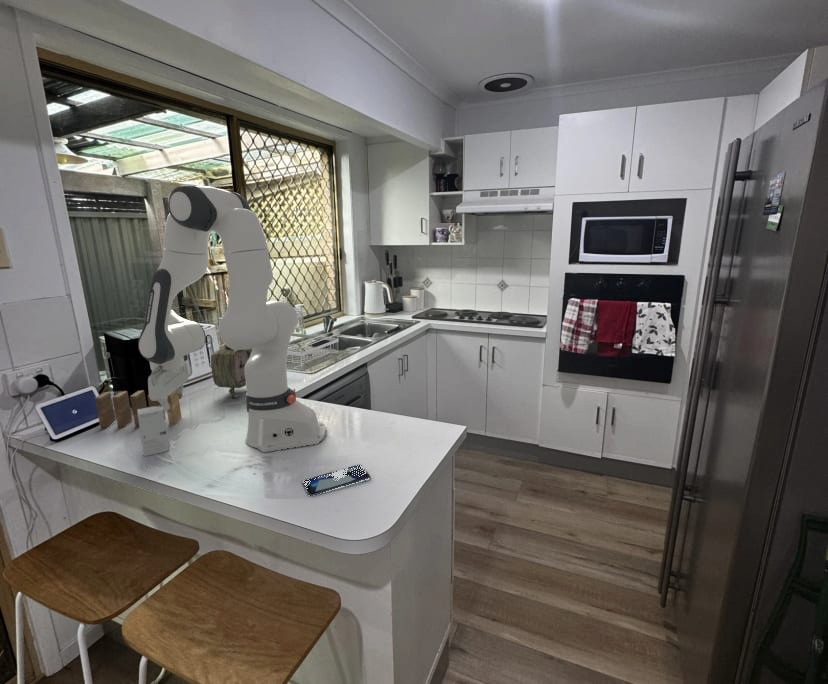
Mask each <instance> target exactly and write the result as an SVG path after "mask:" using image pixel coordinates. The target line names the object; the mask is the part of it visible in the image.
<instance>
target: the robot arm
mask: <svg viewBox="0 0 828 684" xmlns="http://www.w3.org/2000/svg"><path fill="white" fill-rule="evenodd" d="M167 207H168V211H169V214H168V215H167V217H166V222H165V228H164V233H163V248H162V249H163V252H162V258H161V262H160V264H159V267H158V268H157V270H156V271H155V272H154V273H153V275H152V277H151V279H150V280H151V281H150V284H149V289H148V294H147V301H146V307H145V314H144V320H143V326H142V329H141V332H140V334H139V338H138V341H137V342H138V343H137V345H138V346H137V347H138V352H139V353H140V354H141V356H142V357H143V358H144V359H146V360H147V361H148V362H149V367H150V370H151V374H150V375H149V376H148V378H147V386H148V387H147V389H148V395H149V398H150V399H151V400H152V401H159V403H160V404H161V405H162V406H163V411H164V412H167V410H169V409H170V403H168V401H167V399H168V396H169V395H170V394H171V393H172V392H174V391H175V390H176V389H177V390H178V397H179V400H181V399H183V397H184V396H183V391H184V384H185V383H186V382H187V381H189V376H190V372H189V371H190V369H189V363H188V360H189V354H192V353H195V352H197V351H200V350H202V349H203V348H204V346H205V345H206V340H207V335H206V331H205V329H204V328H203V326H202V325H201V324H200V323H199V322H196V321H195V320H188V319H187V318H184V317H182V316H179V315H178V314H177V313H176V311H175V310H173V309H172V305H173V301H174V299H175V297H176V296H177V295H178V294H179V293H180V292H181V291H182V290H184V289H185V288H187V287H189V286H190V285H192V284H193V283H196V282H198V281H199V280H200V279H201V278H202V277H203V276H204V275H205V274H206V271H207V269H208V264H209V239H210V235H211V234H213V232H215V233H216V234H217V235H218V236H219V238H220V241H221V244H222V245H221V246H222V251H223V254H224V256H223V257H224V261H225V265H226V270H227V277H228V283H229V284H228V285H229V291H228V292H229V294H228V302H227V305H226V309H225V311H224V312H225V313H224V314H223V316H222V317H221V319H220V320H219V323H218V335H219V337H220V339H221V341H222V342H223V344H225V345H226V346H228V347H229V348H231V349H234V350H246V349H252V352H251V355H250V357H249V359H248V360H247V362H246V364H245V368H244V371H245V381H246V385H245V388H246V393H245V409H246V412H247V413H248V414H247V417H248V418H247V420H248V421H247V433H246V438H245V443H246V444H247V445H248V446H250V447H252V448H256V449H258V450H259V451H260V452H262V453H268V451H269V452H275V450H276V451H281V449H283V450H288V449H287V448H289V449H294V447H296V448H302V447H301V446H303V447H307V446H306V445H309V446H314V445H313V444H315V445H318V444H319V442H320V441H321V440H322V439H323V438H324V439H325V437H326V435H327V428H326V425H325V423H324V422H322V421H318V417H317V414H316V411H314V408H311V407H309V406H308V405H306V404H304V403H302V402H301V401H299V400H297V395H296V392H297V391H296V388H293V389H291V388H289V387H288V376H287V373H288V372H287V359H288V358H287V357H288V352H289V346H290V341H291V338H292V334H293V333H294V330H295V329H296V327H297V326H298V323H299V322H298V321H299V318H298V313H297V310H296V309H295V308H294V307H293V306H292V304H291V303H289V302H287V301H280V300H269V301H268V291H269V288H270V285H271V284H272V283H273V280H274V273H273V269H272V268H273V267H272V264H271V263H272V262H271V258H270V253H269V248H268V243H267V239H266V236H265V232H264V229H263V227H262V224H261V222H260V219H259V217H258V215H257V214H256V213H255V212H254V211H253V210H251V208H250V204H249V203H248V201H247V199H246V198H245V197H244V196H242V195H241V194H239V193H237V192H234V191H232V190H225V189H222V188H217V187H214V186H206V185H194V184H185V185H179V186H177V187H175V188H173V189H172V190H171V192H170V193H169V195H168V197H167ZM325 434H326V435H325ZM324 436H325V437H324ZM324 439H323V440H324ZM323 440H322V441H323ZM322 441H321V442H322ZM321 442H320V443H321ZM317 443H318V444H317Z"/></svg>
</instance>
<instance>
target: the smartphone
mask: <svg viewBox="0 0 828 684" xmlns="http://www.w3.org/2000/svg"><path fill="white" fill-rule="evenodd" d="M356 465H357V466H358V465H359V466H358V469H357V466H356ZM360 465H361V466H363V464H355V465H352V466H348V470H347V474H345V475H347V476H345V477H344V478H343V477H342V478H340V479H339V480H338V479H337V478H338V477H337V478H335V479H334V476H333V477H332V476H331V475H332V472H333V471H331V472H327V473H323V474H320V475H316V476H313V478H312V477H310V479H309V478H307V479H309V480H310V481H311V482H310V481H309V480H307V479H306V480H305V479H304V480H305V481H309V482H310V484H309V482H308V483H307V485H308V484H309V485H308V486H307V485H306V486H307V487H306V486H305V485H304V484H305V483H306V482H305V481H304V482H305V483H303V484H302V485H304V486H303V488H304V487H306V488H308V489H306V488H304V490H305V489H306V490H307V492H306V494H307V496H308V495H310V496H313V495H317V494H320V493H323V492H326V491H329V490H332V489H335V488H338V487H341V486H346V485H349V484H352V483H356V482H359V481H361V480H365V479H368V478H370V479H371V475H370V473H369V472H368V471H367V470H366V468H365V469H364V470H363V468H362V469H361V467H360ZM353 467H354V468H356V469H357V470H356V469H355V470H354V468H353ZM359 467H360V469H361V470H363V471H361V470H360V469H359ZM351 468H352V469H351ZM343 469H344V468H343ZM344 470H345V469H344ZM352 470H353V471H352ZM358 470H359V471H358ZM365 470H366V474H364V473H365V472H364V471H365ZM335 471H336V472H337V470H335ZM345 471H346V470H345ZM350 471H351V472H350ZM354 471H355V472H354ZM356 471H357V473H356ZM360 471H361V472H360ZM352 472H353V473H352ZM358 472H359V474H358ZM362 472H363V473H362ZM333 473H334V472H333ZM343 473H344V472H343ZM345 473H346V472H345ZM354 473H355V474H354ZM360 473H361V474H360ZM327 474H328V475H327ZM329 474H331V475H330V476H329ZM352 474H353V475H352ZM356 474H357V475H356ZM362 474H364V475H362ZM324 475H325V476H324ZM343 475H344V474H343ZM348 475H349V476H348ZM354 475H355V476H354ZM358 475H359V476H360V477H359V476H358ZM361 475H362V476H361ZM319 476H320V477H319ZM321 476H322V477H321ZM327 476H328V477H327ZM318 477H319V478H318ZM326 477H327V478H326ZM311 478H312V479H311ZM315 478H316V479H315ZM314 479H315V480H314ZM333 479H334V480H333ZM336 479H337V480H338V481H337V480H336ZM335 480H336V481H335ZM302 482H303V480H302V481H301V483H302ZM306 490H305V491H306ZM320 495H321V494H320ZM310 496H309V497H310ZM317 496H318V495H317ZM313 497H314V496H313Z"/></svg>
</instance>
